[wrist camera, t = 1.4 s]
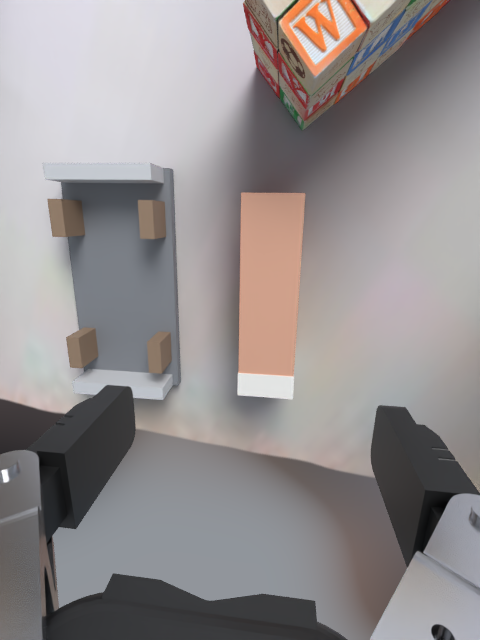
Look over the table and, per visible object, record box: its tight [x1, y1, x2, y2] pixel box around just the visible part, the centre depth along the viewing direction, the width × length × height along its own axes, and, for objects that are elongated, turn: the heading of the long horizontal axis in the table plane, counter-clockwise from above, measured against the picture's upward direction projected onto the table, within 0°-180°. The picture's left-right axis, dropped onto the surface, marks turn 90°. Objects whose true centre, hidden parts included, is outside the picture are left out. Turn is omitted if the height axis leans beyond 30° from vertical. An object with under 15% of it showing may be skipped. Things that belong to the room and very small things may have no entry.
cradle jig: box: [43, 163, 181, 400], centre depth 32 cm, size 10×20×4 cm, turn 179°
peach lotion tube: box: [237, 193, 305, 399], centre depth 30 cm, size 5×16×6 cm, turn 179°
